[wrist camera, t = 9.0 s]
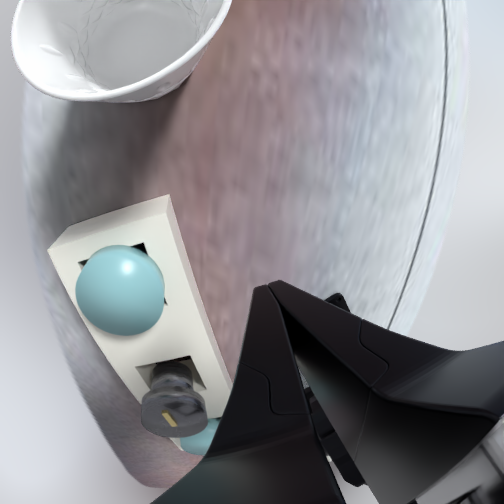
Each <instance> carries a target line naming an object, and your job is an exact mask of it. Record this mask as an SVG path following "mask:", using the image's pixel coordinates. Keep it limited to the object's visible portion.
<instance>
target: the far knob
mask: <svg viewBox="0 0 504 504" xmlns="http://www.w3.org/2000/svg"><path fill="white" fill-rule="evenodd" d="M219 422H220V419H219V417H217V418H213V419H208V425H207V427H206V428H205V429H204V430H203V431H202V432H200V433H198V434H196V435H193V436H189V437H183V438H180V443H181V448H182V449H183V450H184V451H186V452H188V453H191V454H196V455H205V454H206V452H207V450H208V448H209V446H210V444H211V441H212V439H213V437H214V434H215V432H216V429H217V427H218V424H219Z"/></svg>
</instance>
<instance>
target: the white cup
mask: <svg viewBox="0 0 504 504" xmlns="http://www.w3.org/2000/svg"><path fill="white" fill-rule="evenodd" d="M231 2H232V0H20V1H19V3H18V6H17V9H16V11H15V14H14V18H13V22H12V28H11V49H12V55H13V58H14V61H15V64H16V66H17V68H18V70H19V71H20V73H21V75H22V76H23V77H24V78H25V80H26V81H27V82H28V83H29V84H31V85H32V86H33V87H34V88H36V89H37V90H39V91H41V92H42V93H44V94H47V95H49V96H52V97H55V98H58V99H63V100H69V101H94V102H112V103H128V102H141V101H145V100H153V99H158V98H160V97H162V96H163V95H165V94H167V93H169V92H171V91H173V90H175V89H177V88H178V87H179V86H180V85H181V84H182V83H183V82H184V80H185V79H186V78H187V77H188V76H189V75H190V74H191V73H192V72H193V70H194V69H195V67H196V66H197V64H198V63H199V62H200V60H201V59H202V57H203V55H204V54H205V52H206V50H207V48H208V46H209V45H210V43H211V41H212V39H213V37H214V36H215V34H216V32H217V30H218V29H219V27H220V26H221V24H222V22H223V20H224V19H225V17H226V15H227V12H228V10H229V8H230V5H231Z"/></svg>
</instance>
